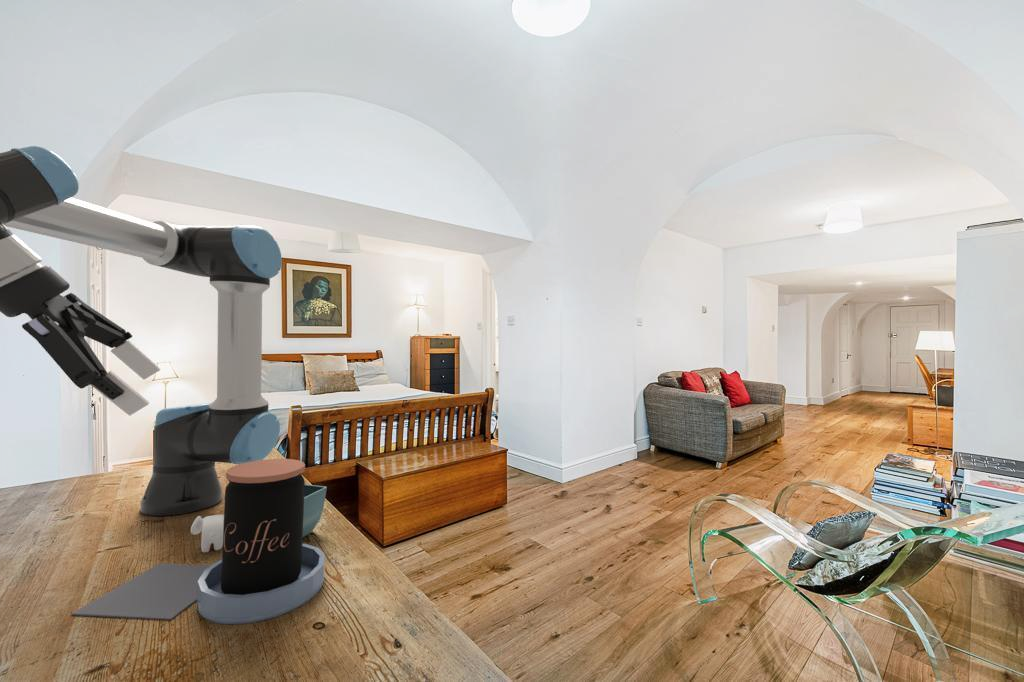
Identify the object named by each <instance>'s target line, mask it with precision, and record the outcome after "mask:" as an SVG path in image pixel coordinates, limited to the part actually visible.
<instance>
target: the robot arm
mask: <svg viewBox="0 0 1024 682" xmlns="http://www.w3.org/2000/svg"><path fill="white" fill-rule="evenodd" d="M73 171H74V170H73V169H72V168H71V166H70V165H69V164H68V163H67V162H66V161H65V160H64V159H63V158H62V157H61V156H59V155H58V154H57V153H56V152H53V151H51V150H50V149H48V148H45V147H41V146H36V145H31V146H25V147H21V148H16V147H14V148H11V149H10V150H7V151H4V152H0V313H1V314H3V315H4V316H5V317H8V318H15V317H18V316H21V315H23V314H26V315H28V317H29V318H30V319H31V320H28V321H27V322H25V323H23V324H22V325H21V328H22V329H23V330H24V331H25V332H27V333H28V334H29V335H30V336H31V337H32V338H34V340H36V341H37V343H38V344H39V345H40V346H41V347H42V348H43V349H44V350H45V352H46V353H47V354H48V355H49V356H50V357H51V359H52V360H53V361H54V362H55V363H56V365H58V367H60V369H61V371H62V372H63V373H64V374H65V375H66V376H67V377H68V379H70V381H72V383H73V384H74V386H76V387H78V389H85V388H86V387H88V386H91V387H92V388H93V389H95V390H96V391H97V392H99V394H101V395H102V396H103V397H105V398H107V400H109V401H110V402H111V403H113V404H114V405H115V406H116V407H117V408H119V409H120V410H122V411H123V412H124V413H125V414H127V415H128V416H132V415H134V414H136V413H137V412H139V411H140V410H142V409H143V408H145V407H146V406H149V404H150V402H149V400H147V399H146V398H145V397H143V396H142V395H141V393H139V392H138V391H137V390H135V389H134V388H133V386H130V385H129V384H128V383H127V382H126V381H124V379H122V378H121V377H119V376H118V375H117V373H115V372H113V371H112V370H110V371H108V372H107V370H106V369H105V367H104V365H103V363H102V362H101V361H100V359H99V358H98V357H97V355H96V354H95V352H94V350H93V349H92V347H91V346H90V344H89V342H87V340H86V338H85V337H87V338H89V339H91V340H93V341H95V342H97V343H100V344H102V345H104V346H106V347H108V348H111V350H110V352H111V353H112V354H113V355H114V356H115V357H116V358H117V359H119V360H120V361H121V362H122V363H123V364H125V365H126V366H127V367H128V368H129V369H130V370H131V371H132V372H134V373H135V374H137V376H139V377H140V378H141V379H142V381H143V380H146V379H148V378H150V377H151V376H153V375H155V374H156V373H158V372H160V371H161V368H160V367H159V366H158V365H157V364H156V363H155V362H153V361H152V360H151V359H150V358H149V356H146V354H144V353H143V352H142V351H141V350H140V349H139V348H138V347H136V345H135V344H134V343H132V341H130V339H132V338H133V335H132V333H131V332H130V331H126V329H124V328H122V327H121V326H119V324H117V323H115V322H113V320H111V319H109V318H108V317H106V316H104V314H102V313H100V312H99V311H97V310H96V309H94V308H93V307H91V306H89V305H88V304H87V303H85V302H84V301H83V300H82V299H81V298H79V297H78V296H77V295H76V294H75V293H72V292H70V293H68V294H65V295H63V296H62V295H61V294H63V293H65V291H67V290H68V289H69V288H70V283H69V282H68V281H67V280H66V279H64V278H63V277H62V276H61V275H60V274H59V273H58V272H57V271H56V270H54V269H53V268H52V267H51V266H48V265H44V266H43V265H42V264H41V262H42V261H43V258H42V257H41V256H39V255H38V254H37V253H36V252H35V251H34V250H33V249H31V248H30V246H28V245H27V244H26V243H25V242H24V241H23V240H22V239H21V238H20V237H18V236H17V235H16V234H14V233H13V232H12V231H11V230H10V229H9V228H11V229H16V230H21V231H24V232H29V233H33V234H37V235H42V236H47V237H50V238H55V239H59V240H64V241H69V242H72V243H76V244H77V243H78V244H81V245H85V246H90V247H94V248H97V249H98V248H99V249H104V250H108V251H111V252H116V253H120V254H125V255H128V256H129V255H130V256H132V257H138V258H142V259H143V260H144V261H145V262H146V263H147V264H149V265H151V266H155V267H156V266H157V267H160V268H164V269H168V270H173V271H176V272H180V273H185V274H189V275H192V276H197V277H202V278H209V285H211V286H212V287H213V288H214V289H215V290H216V291H217V356H216V357H217V359H216V360H217V362H216V363H217V366H216V367H217V369H216V373H217V374H216V378H217V379H216V398H215V399H214V401H212V402H210V403H201V404H199V403H198V404H192V405H183V406H182V405H181V406H174V407H167V408H163V409H161V410H159V411H158V412H157V413H156V415H155V423H154V426H153V455H152V456H153V457H152V461H153V462H152V476H151V477H150V479H149V481H148V483H147V486H146V489H145V492H144V494H143V496H142V498H141V501H140V513H141V514H144V515H147V516H152V517H153V516H154V517H156V516H157V517H162V516H163V517H164V516H173V515H184V514H188V513H193V512H197V511H201V510H204V509H208V508H210V507H213V506H215V505H218V503H220V502H222V499H223V487H222V486H221V482H220V478H219V475H218V473H217V470H216V463H226V464H234V465H239V464H243V463H247V462H252V461H258V460H265V459H266V458H267V457H268V456H269V455H270V453H271V452H272V451H273V449H274V448H275V447H276V444H277V443H278V440H279V437H280V432H281V425H280V420H279V419H278V416H277V415H276V414H274V413H272V412H269V401H268V400H267V399H265V397H263V396H262V365H263V363H262V358H263V357H262V356H263V355H262V354H263V353H262V352H263V348H262V347H263V346H262V345H263V344H262V343H263V342H262V338H263V336H262V335H263V294H264V293H265V292H266V291H267V290H268V289H270V285H271V284H270V283H271V281H270V280H271V278H274V277H276V276H278V274H279V272H280V271H281V269H282V264H283V262H282V261H283V258H282V252H281V249H280V246H279V244H278V242H277V240H275V238H274V237H273V235H272V234H271V233H270V232H268V230H266V229H264V228H263V227H260V226H256V225H244V224H237V225H194V226H193V225H176V224H171V223H169V222H166V221H163V220H161V221H160V220H158V221H157V220H156V221H153V222H150V221H147V220H143V219H140V218H137V217H134V216H131V215H128V214H124V213H121V212H118V211H115V210H111V209H108V208H105V207H103V206H100V205H96V204H92V203H89V202H86V201H83V200H80V199H76V198H74V197H75V196H76V195H77V194H78V192H79V188H80V185H79V184H80V183H79V180H78V177H77V175H76V174H75V172H73Z"/></svg>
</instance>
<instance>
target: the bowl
mask: <svg viewBox="0 0 1024 682" xmlns="http://www.w3.org/2000/svg"><path fill="white" fill-rule="evenodd" d="M325 563H326V554H325V553H324V552H323V551H322V550H321V549H320V548H319V547H317V546H315V545H310V544H307V543H303V542H302V565H301V573H300V575H299V577H298V579H297V580H296V581H295V582H293V583H292V584H289V585H286V586H283V587H279V588H276V589H273V590H270V591H266V592H259V593H253V594H246V595H234V594H224V593H223V592H222V590H221V573H222V558H221V559H219V560H218V561H216V562H215V563H213V564H211V565H209V566H210V567H209V568H207V569H206V570H205V571H204V573H203V574H202V576H201V577H200V579H199V580H198V587H197V601H196V602H197V610H198V613H199V615H200V616H201V618H203V619H205V620H206V621H208V622H212V623H214V624H215V623H216V624H220V625H242V624H243V625H244V624H245V625H247V624H252V623H257V622H258V623H259V622H262V621H265V620H266V621H267V620H269V619H273V618H277V617H279V616H282V615H285V614H287V613H290V612H291V611H294V610H296V609H298V608H299V607H301V606H303V605H305V604H306V603H307V602H309V601H310V600H312V599H313V598H314V597H315V596H316V595H317V594H318V593H319V592H320V590H321V588H323V585H324V579H325V565H326V564H325ZM311 598H312V599H311Z"/></svg>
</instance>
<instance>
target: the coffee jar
mask: <svg viewBox="0 0 1024 682" xmlns="http://www.w3.org/2000/svg"><path fill="white" fill-rule="evenodd" d="M305 470H306V464H305V462H304V461H302V460H297V459H294V458H293V459H292V458H269V459H263V460H258V461H252V462H247V463H243V464H235V465H234V466H230V468H227V470H226V473H225V478H226V480H228V484H226V487H225V490H224V505H223V506H224V508H223V509H224V510H223V511H224V513H223V515H224V528H223V545H222V553H221V554H222V556H221V559H222V573H221V590H222V592H223V593H224V594H234V595H246V594H253V593H259V592H266V591H270V590H273V589H276V588H279V587H283V586H286V585H289V584H292V583H293V582H295V581H296V580H297V579H298V577H299V575H300V573H301V565H302V543H303V538H304V537H303V515H304V489H305V484H306V483H305V478H304V476H303V473H304V472H305Z"/></svg>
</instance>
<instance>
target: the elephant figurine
mask: <svg viewBox="0 0 1024 682" xmlns="http://www.w3.org/2000/svg"><path fill="white" fill-rule="evenodd" d="M223 528H224V514H215V515H214V514H213V515H207V516H205V517H203V518H202V517H201V515H198V516H197V517H195V519H194V520H193V522H192V525H191V526H190V534H192V535H199V534H200V533H201V541H200V543H201V544H200V545H201V547H200V549H201V552H202V553H208V552H210V549H211V545H212V544H213V549H214V550H215V551H220V550H221V549H223Z"/></svg>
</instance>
